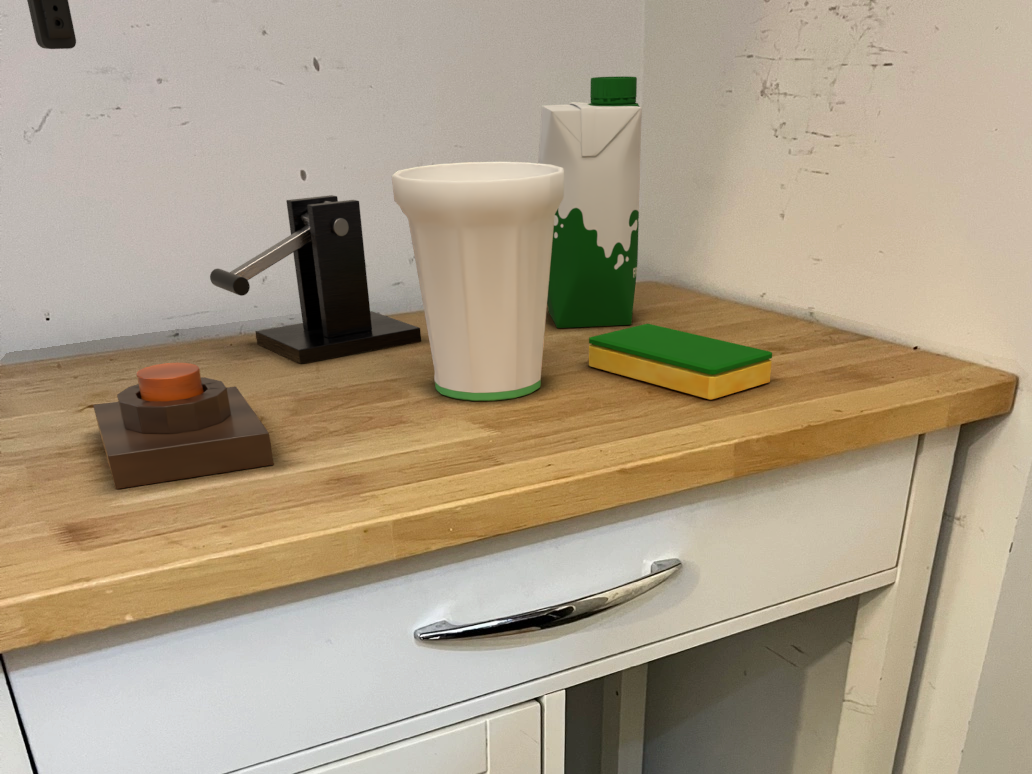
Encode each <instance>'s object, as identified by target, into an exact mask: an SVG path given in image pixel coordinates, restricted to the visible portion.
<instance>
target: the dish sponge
mask: <svg viewBox="0 0 1032 774" xmlns="http://www.w3.org/2000/svg"><path fill="white" fill-rule="evenodd" d="M588 344H589V345H588V366H589V367H592V368H595V369H598V370H603V371H605V372H609V373H611V374H617V375H619V376H620V375H621V376H624V377H627V378H630V379H634V380H638V381H641V382H644V383H649V384H652V385H656V386H660V387H663V388H666V389H670V390H674V391H677V392H680V393H684V394H687V395H691V396H695V397H699V398H702V399H705V400H706V399H707V400H710V401H712V400H715V399H718V398H722V397H724V396H728V395H732V394H734V393H735V394H736V393H739V392H741V391H745V390H748V389H751V388H754V387H757V386H761V385H765V384H767V383H770V382H771V374H772V373H771V371H772V364H773V363H772V360H771V359H773V352H772V351H770V350H765V349H761V348H757V347H753V346H748V345H745V344H744V345H743V344H738V343H734V342H730V341H726V340H721V339H718V338H713V337H709V336H703V335H699V334H696V333H691V332H687V331H682V330H678V329H674V328H669V327H666V326H665V327H664V326H660V325H657V324H652V323H644V324H639V325H636V326H632V327H631V326H630V327H627V328H622V329H618V330H614V331H610V332H606V333H601V334H598V335H594V336H590V337H588Z"/></svg>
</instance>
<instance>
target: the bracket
mask: <svg viewBox="0 0 1032 774" xmlns="http://www.w3.org/2000/svg"><path fill="white" fill-rule="evenodd" d="M325 201H329V203H323V202H325ZM286 209H287V215H288V216H287V217H288V223H289V230H290V235H292V234H293V233H295V232H297V231H298V230H300V229H302V228H303V227H305V225H304V223H303V221H302V218H301V216H302V215H304V214H305V213H307V212H308V215H309V223H310V231H311V240H312V241H311V242H309V243H308V244H306V245H304V246H303V247H301V248H300V249H298V250H296V251H295V252H293V253H292V254H293V260H294V267H295V276H296V283H297V284H296V285H297V290H298V291H297V292H298V298H299V307H300V313H301V321H302V322H300V323H293V324H288V325H282V326H276V327H270V328H264V329H260V330H255V331H254V332H255V338H256V345H258V346H260V347H263V348H264V349H267V350H269V351H271V352H273V353H275V354H277V355H280V356H282V357H284V358H287V359H288V360H291V361H294V362H296V363H297V364H300V365H305V364H309V363H312V362H313V363H314V362H320V361H324V360H330V359H335V358H340V357H346V356H350V355H356V354H361V353H366V352H372V351H377V350H383V349H388V348H393V347H398V346H404V345H409V344H413V343H419V342H422V335H421V334H422V333H421V327H420V326H416V325H413V324H410V323H407V322H405V321H401V320H399V319H396V318H392V317H390V316H387V315H384V314H381V313H379V312H376V311H372V310H371V307H370V306H371V305H370V295H369V285H368V275H367V266H366V257H365V246H364V236H363V227H362V217H361V216H362V215H361V206H360V200H357V199H346V200H338V196H337V195H334V194H331V195H321V196H313V197H303V198H294V199H293V198H292V199H286Z"/></svg>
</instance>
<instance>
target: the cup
mask: <svg viewBox="0 0 1032 774" xmlns="http://www.w3.org/2000/svg"><path fill="white" fill-rule="evenodd" d="M391 183H392V184H391V185H392V192H393V200H394V201H393V202H395V203H396V204H397V205H398V207H399V208H400V210H401V211H402V213H403V214H404V216H406V218H407V220H408V228H409V232H410V239H411V243H412V248H413V249H412V250H413V254H414V260H415V266H416V267H415V268H416V273H417V279H418V283H419V289H420V290H419V291H420V297H421V301H422V307H423V312H424V318H425V319H424V320H425V324H426V330H427V336H428V342H429V347H430V354H431V358H432V364H433V370H434V377H433V378H434V387H435V390H436V391H437V392H438V393H440V394H441V395H442V396H444V397H447V398H451V399H455V400H463V401H471V402H491V401H501V400H502V401H503V400H511V399H517V398H520V397H521V398H522V397H524V396H527V395H530V394H532V393H534V392H536V391H538V389H540V388H541V385H542V381H541V380H542V379H541V378H542V366H543V354H544V342H545V332H546V321H547V310H548V306H547V298H548V286H549V275H550V263H551V252H552V240H553V228H554V217H555V213H556V211H557V209H558V207H559V205H560V204H561V202H562V200H563V196H564V169H563V168H562V167H558V166H554V165H550V164H539V163H538V162H527V161H525V162H524V161H469V162H467V161H466V162H451V163H449V162H448V163H436V164H429V165H421V166H413V167H409V168H404V169H399V170H397V171H395V172H394V173H393V174H392V175H391Z"/></svg>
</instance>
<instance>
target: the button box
mask: <svg viewBox="0 0 1032 774" xmlns="http://www.w3.org/2000/svg"><path fill="white" fill-rule="evenodd" d="M201 381H202V386H203V392H204V393H202V394H201V395H197V396H194V397H191V398H187V399H181V400H173V401H146V400H142V398H141V393H140V389H139V384H138V383H137V384H133V385H131V386H128V387H127V388H125V389H123V390H122V391H120V392H119V393H117V395H116V397H117V401H111V402H104V403H96V404H93V412H94V414H95V415H94V416H95V419H96V423H97V426H98V431H99V435H100V439H101V443H102V445H103V449H104V453H105V458H106V461H107V463H108V468H109V471H110V474H111V478H112V481H113V484H114V485H113V486H114V488H115V489H116V490H119V489H126V488H132V487H138V486H144V485H152V484H157V483H164V482H172V481H179V480H183V479H190V478H198V477H203V476H211V475H216V474H223V473H229V472H236V471H237V472H238V471H242V470H249V469H255V468H261V467H263V468H264V467H269V466H274V464H275V462H274V455H273V449H272V444H271V443H272V442H271V437H270V432H269V430H268V429H267V428H266V427H265V426H264V424H263V422H262V421H261V420H260V418H259V417H258V415H257V414H256V413H255V411H254V410H253V409H252V407H251V405H250V404H249V403H248V401H247V400H246V398H245V396H243V394H242V392H241V391H240V390H239V388H238V387H237V386H228V387H226V385H225V384H224V382H223V381H221V380H218V379H214V378H209V377H203V376H201Z"/></svg>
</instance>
